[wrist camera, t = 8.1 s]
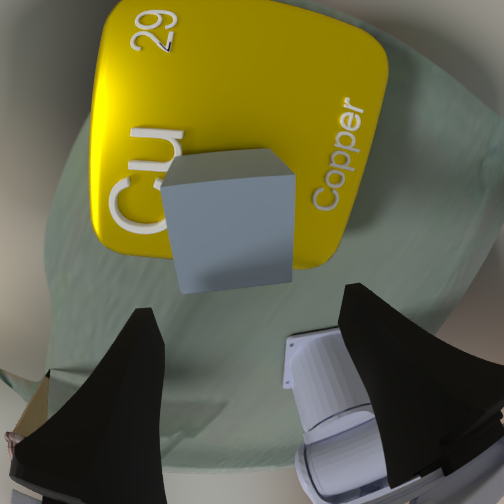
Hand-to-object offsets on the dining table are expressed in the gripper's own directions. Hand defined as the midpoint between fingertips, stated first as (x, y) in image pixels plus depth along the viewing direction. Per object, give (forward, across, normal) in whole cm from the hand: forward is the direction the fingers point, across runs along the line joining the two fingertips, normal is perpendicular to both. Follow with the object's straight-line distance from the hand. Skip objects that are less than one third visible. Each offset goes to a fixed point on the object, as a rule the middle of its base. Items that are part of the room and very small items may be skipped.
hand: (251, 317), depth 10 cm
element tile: (+11, 0, -5) cm, 12 cm away
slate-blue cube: (+6, 0, -2) cm, 7 cm away
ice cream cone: (+10, +24, +17) cm, 31 cm away
